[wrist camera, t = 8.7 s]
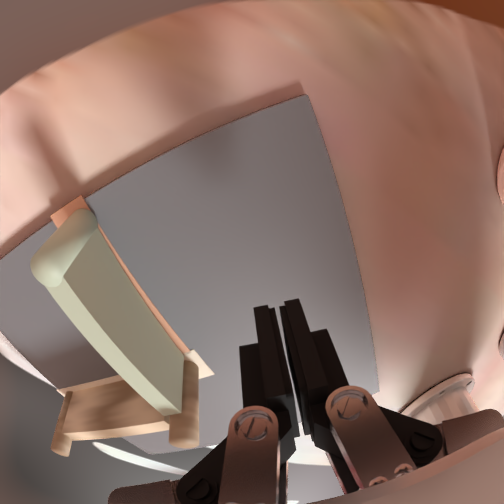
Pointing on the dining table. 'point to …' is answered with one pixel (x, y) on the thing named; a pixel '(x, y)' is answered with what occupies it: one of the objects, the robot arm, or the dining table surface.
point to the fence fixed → (126, 414)
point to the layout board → (210, 261)
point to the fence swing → (110, 310)
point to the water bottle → (501, 176)
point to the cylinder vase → (502, 346)
